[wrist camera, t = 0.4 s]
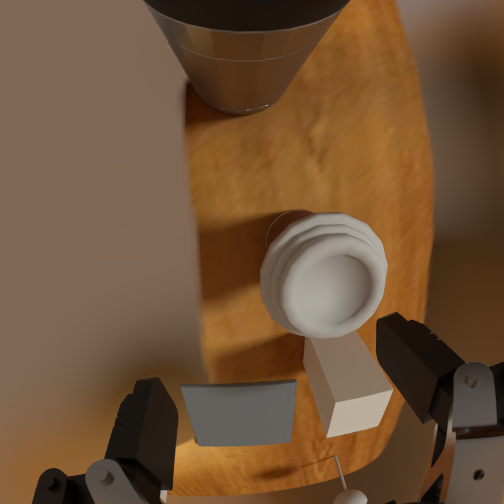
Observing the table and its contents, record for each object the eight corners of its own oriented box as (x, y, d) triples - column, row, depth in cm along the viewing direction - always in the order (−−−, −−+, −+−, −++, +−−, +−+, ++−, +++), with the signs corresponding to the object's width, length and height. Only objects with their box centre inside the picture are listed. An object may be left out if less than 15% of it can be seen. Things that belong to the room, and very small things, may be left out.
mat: (181, 384, 33) (180, 387, 32) (295, 379, 33) (296, 382, 33) (199, 443, 37) (198, 446, 37) (290, 439, 38) (290, 442, 37)
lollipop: (317, 464, 42) (332, 524, 27) (322, 451, 40) (340, 516, 26) (346, 459, 42) (364, 515, 28) (353, 445, 40) (375, 506, 26)
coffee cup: (344, 271, 29) (398, 330, 18) (262, 291, 29) (277, 366, 18) (332, 187, 26) (395, 204, 15) (242, 206, 26) (245, 239, 15)
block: (305, 327, 31) (335, 402, 19) (350, 322, 31) (393, 389, 20) (302, 363, 33) (326, 437, 21) (344, 357, 33) (378, 425, 21)
